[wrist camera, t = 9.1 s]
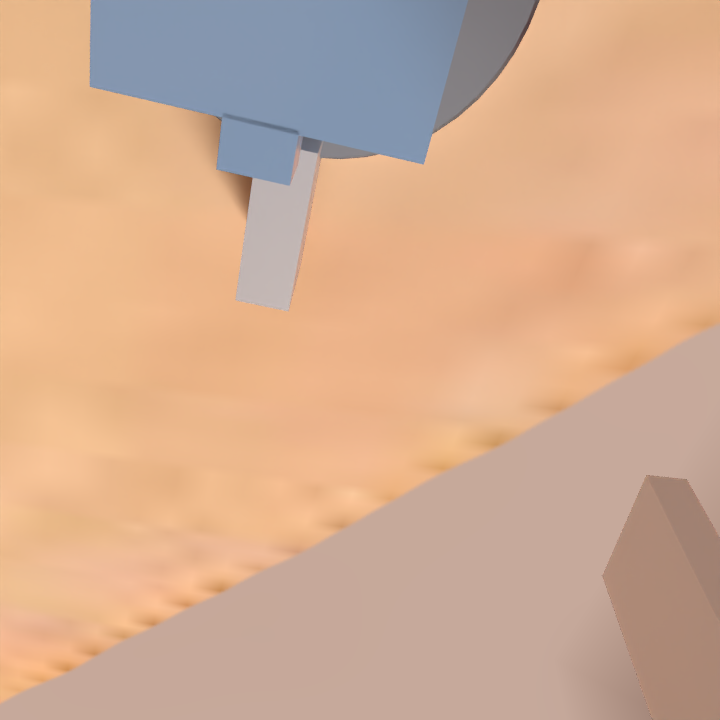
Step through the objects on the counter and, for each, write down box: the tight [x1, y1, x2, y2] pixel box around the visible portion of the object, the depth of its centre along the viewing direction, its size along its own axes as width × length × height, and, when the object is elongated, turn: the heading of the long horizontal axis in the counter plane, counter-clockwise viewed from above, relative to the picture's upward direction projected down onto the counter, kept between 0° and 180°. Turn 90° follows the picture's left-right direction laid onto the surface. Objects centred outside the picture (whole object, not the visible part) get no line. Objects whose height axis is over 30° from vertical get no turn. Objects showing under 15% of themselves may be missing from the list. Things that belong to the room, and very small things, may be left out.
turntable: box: [216, 0, 535, 311], centre depth 22 cm, size 14×19×4 cm
